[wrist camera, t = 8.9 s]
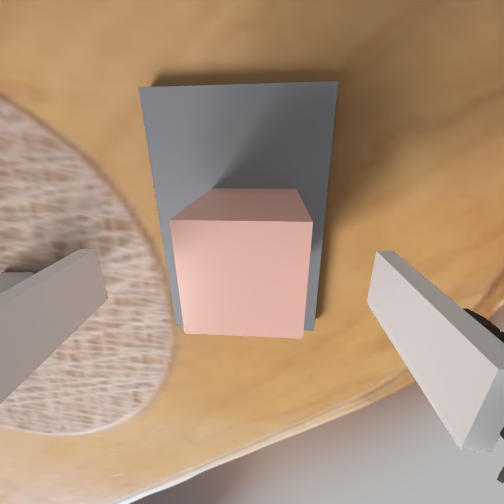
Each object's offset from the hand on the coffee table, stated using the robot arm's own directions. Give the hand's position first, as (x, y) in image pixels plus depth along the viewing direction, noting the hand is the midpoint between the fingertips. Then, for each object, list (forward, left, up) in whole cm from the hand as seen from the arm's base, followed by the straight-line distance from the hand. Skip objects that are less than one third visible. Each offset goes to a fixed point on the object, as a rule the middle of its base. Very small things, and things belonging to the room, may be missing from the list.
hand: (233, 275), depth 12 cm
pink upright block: (0, 0, -7) cm, 7 cm away
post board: (-1, 0, -8) cm, 8 cm away
